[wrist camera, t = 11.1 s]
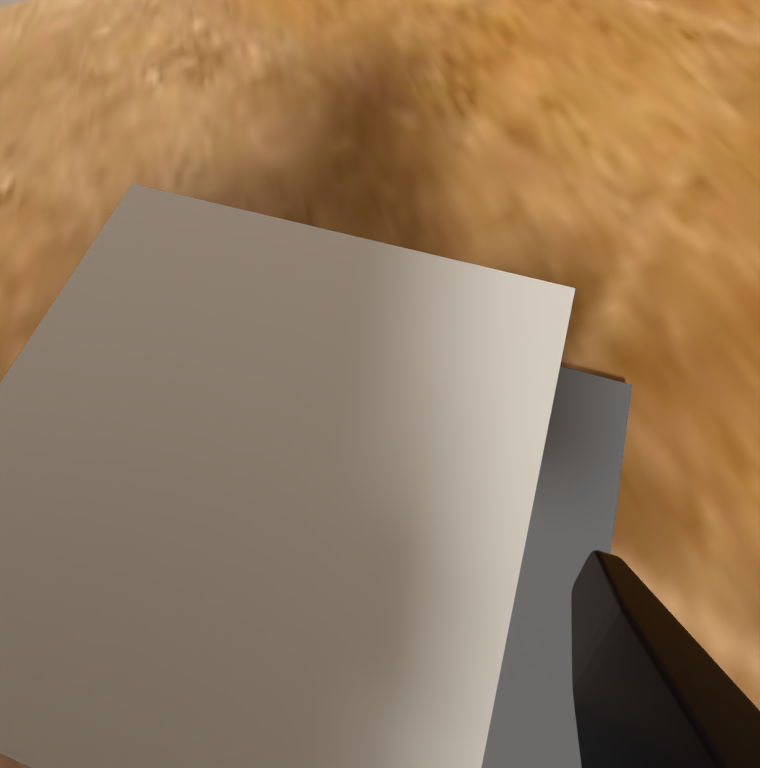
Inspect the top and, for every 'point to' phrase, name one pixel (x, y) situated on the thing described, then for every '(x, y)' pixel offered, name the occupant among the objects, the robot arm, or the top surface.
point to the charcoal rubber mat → (558, 573)
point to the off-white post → (266, 497)
